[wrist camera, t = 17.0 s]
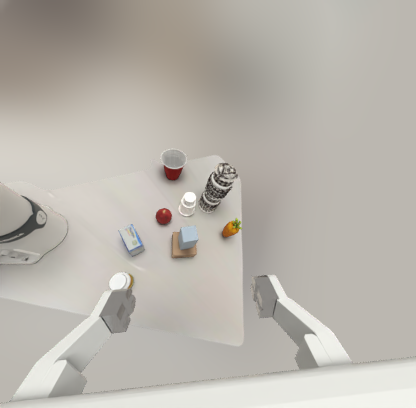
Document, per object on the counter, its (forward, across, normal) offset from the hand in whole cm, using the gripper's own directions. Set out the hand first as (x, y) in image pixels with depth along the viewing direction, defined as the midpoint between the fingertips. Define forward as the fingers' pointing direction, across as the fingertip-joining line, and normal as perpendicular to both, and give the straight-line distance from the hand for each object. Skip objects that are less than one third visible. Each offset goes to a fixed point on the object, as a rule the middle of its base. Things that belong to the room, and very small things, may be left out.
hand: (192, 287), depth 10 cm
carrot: (+46, +9, -32) cm, 57 cm away
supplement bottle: (+27, -26, -33) cm, 50 cm away
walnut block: (+39, -8, -31) cm, 50 cm away
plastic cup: (+65, -13, -10) cm, 67 cm away
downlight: (+53, -6, -22) cm, 57 cm away
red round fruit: (+47, -16, -22) cm, 54 cm away
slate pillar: (+36, -6, -26) cm, 45 cm away
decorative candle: (+56, +3, -22) cm, 61 cm away
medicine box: (+37, -25, -26) cm, 52 cm away
